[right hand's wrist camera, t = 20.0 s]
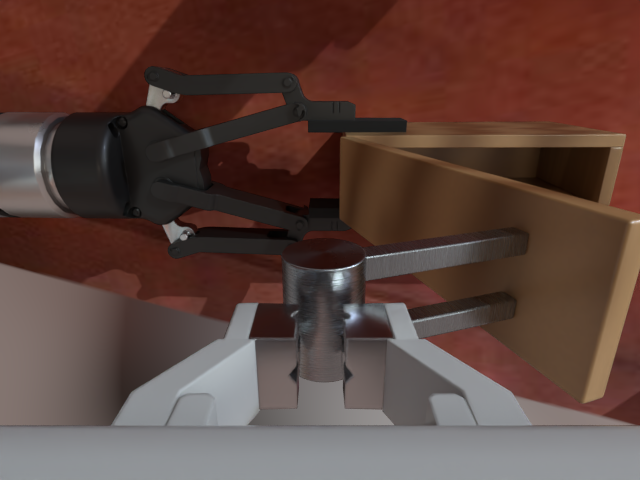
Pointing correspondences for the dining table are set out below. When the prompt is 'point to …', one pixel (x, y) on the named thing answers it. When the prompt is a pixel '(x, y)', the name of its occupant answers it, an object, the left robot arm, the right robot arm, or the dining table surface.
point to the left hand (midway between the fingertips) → (399, 168)
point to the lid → (471, 264)
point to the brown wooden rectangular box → (519, 152)
